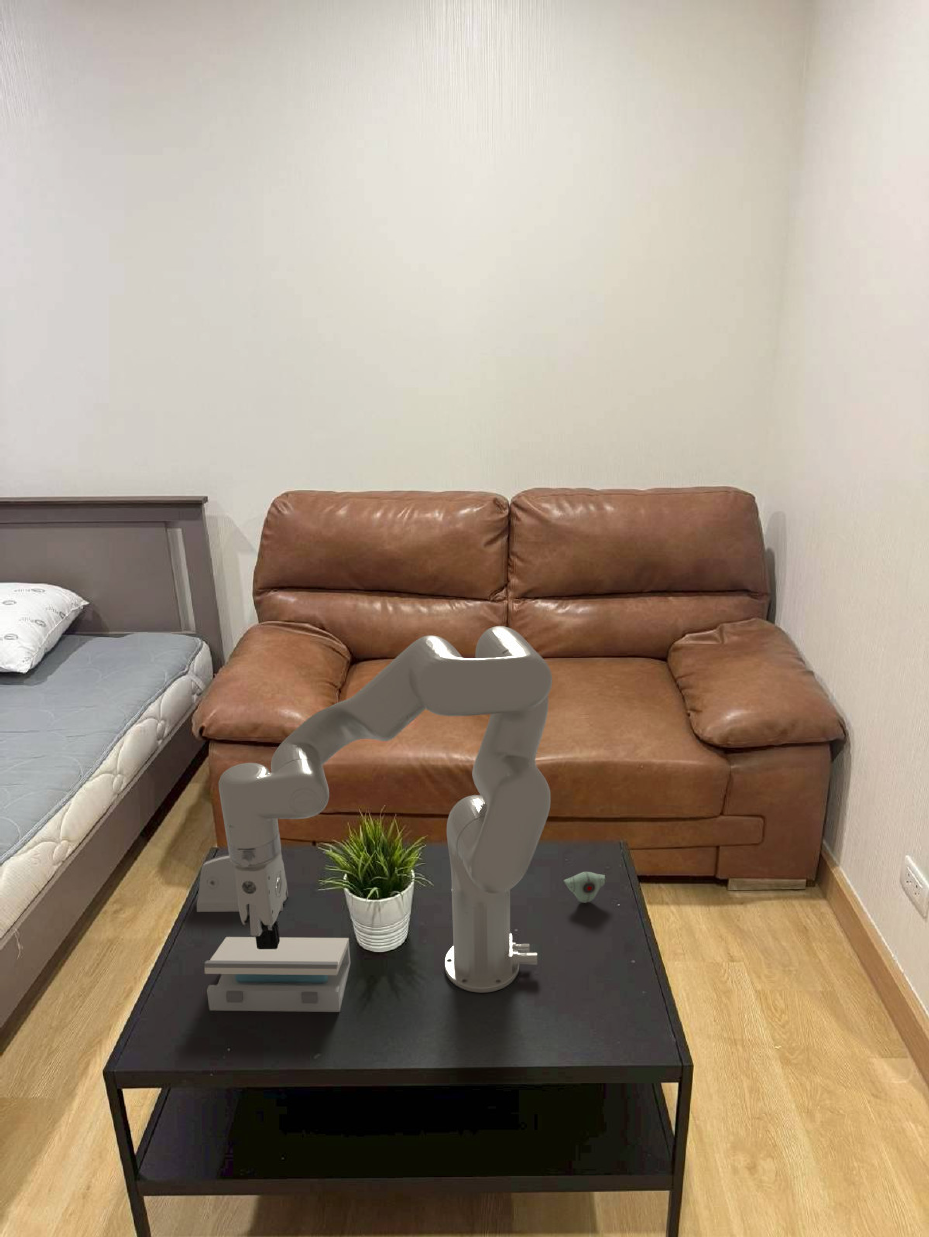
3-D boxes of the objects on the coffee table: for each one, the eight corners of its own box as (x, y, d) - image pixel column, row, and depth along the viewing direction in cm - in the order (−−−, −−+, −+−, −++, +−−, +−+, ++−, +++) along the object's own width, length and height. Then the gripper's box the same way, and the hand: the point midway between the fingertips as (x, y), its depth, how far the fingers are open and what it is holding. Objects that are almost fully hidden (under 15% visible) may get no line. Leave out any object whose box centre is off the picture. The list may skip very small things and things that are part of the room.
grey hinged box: (350, 963, 153) (349, 944, 152) (338, 1015, 142) (337, 995, 141) (229, 962, 154) (226, 943, 153) (208, 1014, 143) (205, 994, 141)
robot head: (602, 893, 169) (603, 863, 167) (609, 907, 166) (611, 876, 163) (561, 898, 168) (562, 868, 166) (567, 912, 164) (568, 882, 162)
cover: (348, 943, 152) (348, 934, 151) (336, 975, 140) (336, 964, 140) (226, 942, 152) (226, 932, 152) (204, 973, 141) (204, 963, 141)
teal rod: (328, 978, 148) (328, 971, 148) (327, 984, 147) (326, 977, 146) (236, 977, 149) (236, 970, 148) (234, 983, 148) (233, 976, 147)
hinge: (194, 911, 167) (193, 858, 167) (202, 903, 171) (201, 851, 171) (284, 911, 166) (283, 857, 166) (289, 902, 171) (288, 850, 171)
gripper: (267, 876, 125) (281, 980, 131) (290, 816, 139) (302, 913, 145) (214, 876, 125) (231, 981, 131) (242, 817, 139) (257, 914, 145)
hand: (268, 945), depth 138 cm, fingers closed
